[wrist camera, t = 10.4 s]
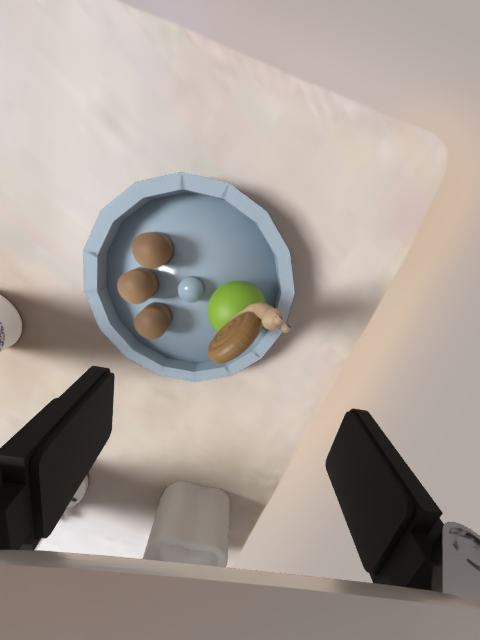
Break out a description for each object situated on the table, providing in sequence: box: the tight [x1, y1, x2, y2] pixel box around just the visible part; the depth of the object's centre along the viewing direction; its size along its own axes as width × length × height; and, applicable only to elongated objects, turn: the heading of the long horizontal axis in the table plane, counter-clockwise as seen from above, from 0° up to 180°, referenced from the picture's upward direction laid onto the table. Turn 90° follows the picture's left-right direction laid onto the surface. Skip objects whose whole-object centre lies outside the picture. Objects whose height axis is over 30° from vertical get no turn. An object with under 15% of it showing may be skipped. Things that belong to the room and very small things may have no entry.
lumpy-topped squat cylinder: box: [143, 481, 230, 567], centre depth 35 cm, size 10×13×9 cm
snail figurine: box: [208, 281, 291, 364], centre depth 20 cm, size 5×6×12 cm
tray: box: [83, 172, 295, 382], centre depth 25 cm, size 19×19×3 cm
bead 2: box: [117, 267, 159, 304], centre depth 24 cm, size 3×3×2 cm
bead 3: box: [134, 302, 173, 339], centre depth 25 cm, size 3×3×2 cm
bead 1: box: [132, 232, 174, 269], centre depth 23 cm, size 3×3×2 cm
